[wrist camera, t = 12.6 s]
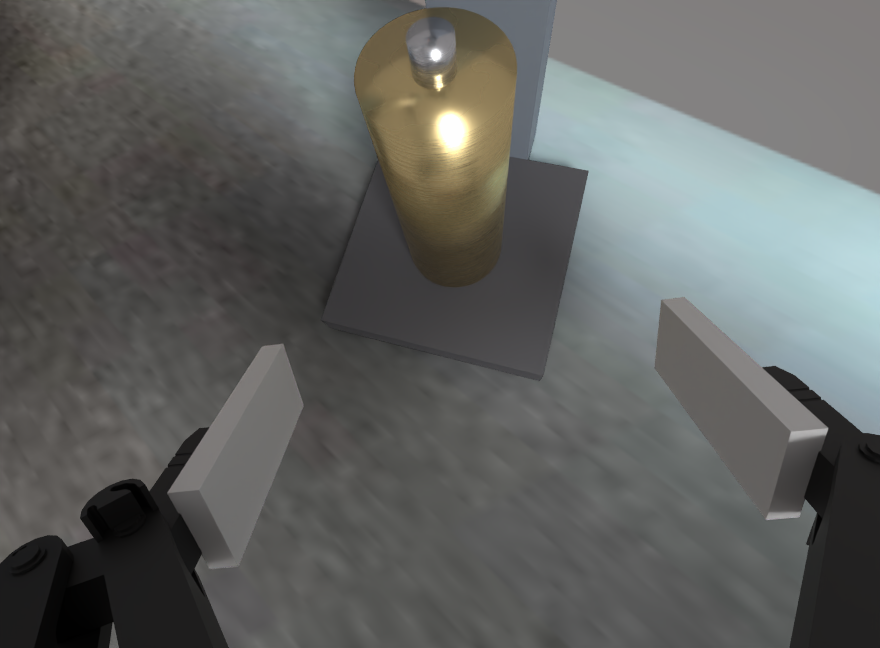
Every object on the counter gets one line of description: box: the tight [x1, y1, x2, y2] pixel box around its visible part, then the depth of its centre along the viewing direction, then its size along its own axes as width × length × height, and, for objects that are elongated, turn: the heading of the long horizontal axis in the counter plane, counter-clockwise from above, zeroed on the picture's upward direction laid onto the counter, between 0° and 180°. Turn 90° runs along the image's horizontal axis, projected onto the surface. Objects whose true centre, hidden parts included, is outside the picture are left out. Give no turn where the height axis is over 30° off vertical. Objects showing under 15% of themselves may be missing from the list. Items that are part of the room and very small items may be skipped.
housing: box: [354, 7, 517, 287], centre depth 20 cm, size 5×5×13 cm
